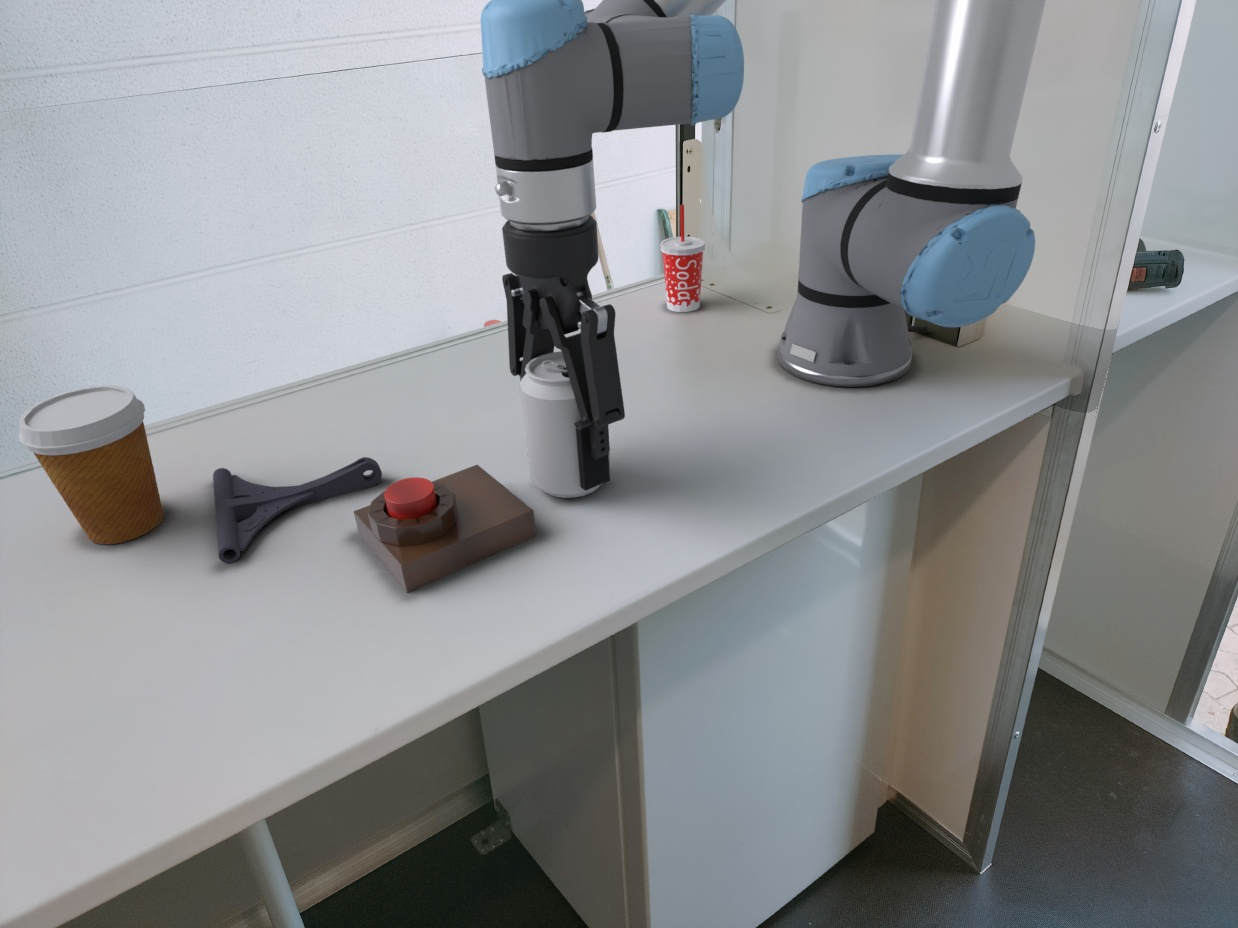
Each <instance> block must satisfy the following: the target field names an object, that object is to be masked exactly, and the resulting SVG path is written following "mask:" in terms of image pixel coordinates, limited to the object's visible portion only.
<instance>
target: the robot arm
mask: <svg viewBox="0 0 1238 928" xmlns="http://www.w3.org/2000/svg"><path fill="white" fill-rule="evenodd" d="M726 2H727V0H602V1H600V3H599V4H598V5H597V6H596V7H595V8H591V9H587V10H585V5H584V3H583V0H489V1H488V2H487V3H486V4H485V5H484V7H483V8H482V10H481V12H480V34H481V53H482V68H481V73H482V76H483V77H484V83H485V84H484V85H485V92H486V93H485V94H486V101H487V109H488V118H489V124H490V131H491V141H492V148H493V155H494V164H495V171H496V172H495V173H496V184H495V186H494V190H495V193H496V195H497V196H498V198H499V199H498V200H499V208H500V214H501V216H502V218H504V219H505V220H507V221H505V223H504V224H503V226H502V227H501V231H502V238H503V239H502V240H503V250H504V256H505V257H504V258H505V265H506V267H507V269H508V270H509V271H510V273H506V274H503V275H502V277H501V280H502V286H503V291H504V295H505V299H506V300H505V301H506V318H507V341H508V361H509V364H508V365H509V370H510V374H511V375H512V376H513V377H516V376H518V377H519V380H520V382H521V379H522V378H523V377H524V376H525V375H526V371H525V368H526V365H527V364H528V363H529V362H530V361H531V360H532V359H534V358H536V357H538V356H541V355H544V354H547V353H553V352H555V348H556V349H558V350H560V351H562V354H563V358H564V361H565V365H566V368H567V372H568V375H569V379H570V382H571V386H572V389H573V393H574V396H575V400H576V403H577V407H578V410H579V414H580V417H581V421H579V422H576V423H574V424H575V427H576V436H577V449H578V461H579V473H580V486H581V488H582V489H584V490H585V491H586V490H589V489H591V488H593V487H596V486H598V485H600V484H601V485H603V484H605V483H607V482H611V469H610V470H609V452H611V449H610V447H611V446H610V445H611V444H610V429H609V426H610V425H611V424H615V423H617V422H619V421H622V420H624V419H625V417H626V412H625V405H624V398H623V397H624V396H623V390H622V382H621V375H620V368H619V361H618V353H617V347H616V338H615V327H616V326H615V325H616V310H615V307H614V306H613V305H612V304H610V303H609V304H608V303H607V304H605V305H602V306H601V305H600V304H598V303H596V301H594V300H593V293H592V290H591V288H590V285H589V280H588V276H589V273H590V271H591V270H592V269H593V268H594V267H595V266H596V265H597V263H598V262H599V242H598V240H599V239H598V223H597V220H596V219H595V218H594V217H593V216H592V214H594V212H595V211H596V209H597V199H596V198H597V197H596V184H595V182H596V181H595V170H594V169H595V168H594V153H593V151H594V150H593V147H592V146H593V134H596V133H597V134H599V133H602V134H603V133H611V132H613V131H615V132H616V131H623V130H625V131H626V130H635V129H645V128H656V127H668V126H677V125H688V124H690V126H696V125H697V124H699V123H703V122H707V121H713V120H720V119H723V118H726V117H728V115H730V114H731V113H732V112H733V111H734V109H736V106H737V105H738V103H739V100H740V99H741V94H742V91H743V87H744V80H745V56H744V49H743V44H742V41H741V37H740V35H739V32H738V30H737V28H736V26H735V25H734V23H733V22H732V21H731V20H730V19H729V18H727V17H725V16H723V15H717V14H715V13H716V12H717V11H718V10H719V9H720V8H721V7H722V6H723V5H724V4H725V3H726ZM1046 2H1047V0H935V4H934V10H933V15H932V21H931V26H930V32H929V37H928V42H927V43H928V44H927V49H926V54H925V58H924V59H925V61H924V66H923V70H922V76H921V83H920V88H919V93H918V99H917V104H916V111H915V116H914V122H913V127H912V132H911V139H910V145H909V147H908V150H906V153H904V154H871V155H869V154H868V155H857V156H856V155H855V156H845V157H839V158H832V159H826V160H822V161H818V162H816V163H814V164H813V165H811V166H810V168H809V169H807V172H806V174H805V177H804V183H803V184H804V185H803V189H802V196H801V198H800V199H801V200H800V201H801V203H802V205H801V206H802V207H801V226H800V243H799V244H800V245H799V261H798V279H797V280H798V281H797V294H796V298H795V300H794V303H793V306H792V308H791V310H790V313H789V316H788V318H787V321H786V323H785V326H784V330H783V332H782V333H781V336H780V338H779V343H778V351H777V360H778V362H779V365H780V366H781V367H782V368H783V370H785V371H787V372H788V373H789V374H791V375H793V376H795V377H798V378H800V379H802V380H805V381H808V382H812V383H815V384H820V385H827V386H832V387H833V386H834V387H835V386H836V387H850V388H852V387H853V388H855V387H856V388H857V387H868V386H869V387H870V386H875V385H877V386H878V385H881V384H886V383H889V382H892V381H894V380H897V379H899V378H901V377H903V376H904V375H905V374H906V373H907V372H908V371H909V370H910V368H911V366H912V360H913V359H912V357H913V345H912V340H911V338H910V335H909V333H913V332H914V333H916V332H918V333H919V332H927V331H928V329H929V328H928V326H927V325H926V324H925V325H908V321H907V317H906V313H907V315H909V316H911V317H913V318H915V319H917V320H922V321H927V322H929V323H930V324H931V323H932V324H933V325H936V326H939V327H944V328H961V327H962V328H963V327H967V326H970V325H972V324H975V323H978V322H980V321H983V320H984V319H987V318H988V317H990V316H991V315H992V314H995V312H996V311H998V309H999V307H1000V306H1002V305H1003V304H1005V303H1007V302H1008V301H1009V300H1010V299H1011V298H1012V296H1014V295H1015V293H1016V292H1017V290H1018V289H1019V288H1020V287H1021V285H1022V284H1023V282H1024V280H1025V278H1026V277H1027V274H1028V272H1029V270H1030V268H1031V265H1032V263H1033V260H1034V256H1035V250H1036V235H1035V231H1034V230H1033V229H1032V228H1031V227H1032V226H1031V221H1029V219H1028V217H1027V216H1025V214H1023V213H1022V212H1021V210H1019V209H1017V205H1018V200H1019V197H1020V192H1021V188H1022V184H1023V176H1022V174H1021V173H1020V171H1019V170H1018V168H1017V167H1016V165H1015V164H1014V162H1013V161H1012V159H1011V151H1012V149H1013V144H1014V139H1015V135H1016V132H1017V127H1018V122H1019V117H1020V113H1021V110H1022V109H1021V108H1022V105H1023V102H1024V96H1025V91H1026V88H1027V85H1028V84H1027V83H1028V79H1029V75H1030V72H1031V71H1030V70H1031V66H1032V63H1033V57H1034V53H1035V49H1036V46H1037V45H1036V44H1037V41H1038V36H1039V33H1040V27H1041V23H1042V18H1043V14H1044V10H1045V6H1046ZM714 14H715V15H714ZM922 326H924V327H922ZM579 330H580V332H579ZM575 332H579V333H575ZM571 333H572V335H570V336H566V335H568V334H571ZM573 333H575V334H573ZM521 358H522V359H521ZM520 382H519V383H520ZM591 410H592V411H591ZM601 485H600V486H601Z"/></svg>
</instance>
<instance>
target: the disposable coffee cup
mask: <svg viewBox="0 0 1238 928" xmlns="http://www.w3.org/2000/svg"><path fill="white" fill-rule="evenodd" d="M145 407H146V406H145V404H144V402H143V401H142V400H141V399H139V398H137V396H136V395H135V393H134V392H133V391H132V390H131V389H130V388H127V387H125V386H122V385H121V386H120V385H114V384H113V385H110V384H108V385H107V384H105V385H104V384H103V385H92V386H87V387H81V388H77V389H73V390H68V391H65V392H62V393H59V394H55V395H53V396H50V397H48V398H45V399H43V400H41V401H39V402H37V403H36V404H34V405H31V406H30V407H29V408H28V409H26V410H25V411H24V412H23V413H22V414H21V415H20V417H19V420H18V422H19V433H18V440H19V443H21V444H22V445H23V447H26V449H28V450H29V451H30V452H31V453H33V455H34V456H35V458H36V460H37V461H38V463H39V465H40V466H41V467H42V469H43V471H44V472H45V473H46V475H47V477H48V478H49V479H50V481H51V483H52V484H53V486H54V487H55V489H56V490H57V492H58V494H59V495H60V496H61V498H62V500H63V501H64V503H65V504H66V506H67V507H68V509H69V511H70V512H71V513H72V515H73V517H74V518H75V519H76V521H77V523H78V524H79V525H80V528H81V529H82V530H83V532H84V533H85V535H86V536H87V538H88V539H89V541H91V542H92V543H95V544H99V545H116V544H120V543H125V542H129V541H131V540H135V539H137V538H139V537H141V536H144V535H145V534H148V533H149V532H151V531H153V529H155V528H156V527H157V526H158V525H159V524H160V523H161V522H162V521H163V518H164V510H163V505H162V502H161V496H160V492H159V487H158V482H157V477H156V473H155V469H154V468H155V467H154V465H153V464H154V463H153V459H152V455H151V450H150V446H149V441H148V436H147V432H146V426H145V423H144V419H145V411H146V408H145Z"/></svg>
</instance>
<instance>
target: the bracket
mask: <svg viewBox="0 0 1238 928" xmlns="http://www.w3.org/2000/svg"><path fill="white" fill-rule="evenodd" d="M367 471H372V472H371V473H369V474H365V473H366V472H367ZM382 476H383V472H382V469H381V467H380V465H379V463H378V461H376V460H375V459H373V458H371V457H367V456H363V457H360V458H358V459H357V460H355V461H353V462H351V463H350V464H348V465H346V466H343V467H342V468H339V469H337V470H335V471H333V472H331V473H328V474H326V475H325V476H321V477H319V478H316V479H313V480H311V481H307V482H304V483H302V484H297V485H288V486H270V485H264V484H257V483H254V482H250V481H247V480H245V479H244V478H241V477H240V476H238V475H237V474H232V472H231V471H230V470H229V469H227V468H224V467H220V468H217V469H215V470H214V471H213V473H212V482H213V495H214V509H215V525H216V536H217V537H216V539H217V551H218V552H217V553H218V558H219V560H220V561H221V562H223V563H224V564H225V563H226V564H232V563H235V562H236V561H238V560H239V558H240V557H241V552H245V550H246V549H247V548H248V546H249V544H250V543H251V542H252V540H253V538H254V537H255V536H256V535H257V534H258V533H259V531H260V530H262V528H263V527H264V526H265V525H267V524H268V523H269V522H270V521H272V520H273V519H274V518H275V517H276V516H278V515H279V514H281V513H282V512H284V511H286V510H288V509H290V508H294V507H298V506H302V505H306V504H310V503H314V502H319V501H322V500H326V499H330V498H333V497H338V496H341V495H345V494H349V493H353V492H357V491H361V490H365V489H369V488H372V487H374V486H376V485H377V484H378V483H380V482H381V480H382ZM238 521H240V522H238Z"/></svg>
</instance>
